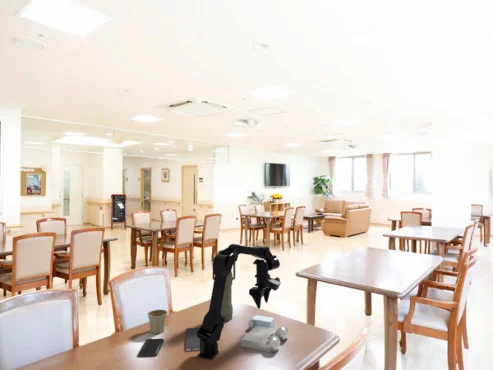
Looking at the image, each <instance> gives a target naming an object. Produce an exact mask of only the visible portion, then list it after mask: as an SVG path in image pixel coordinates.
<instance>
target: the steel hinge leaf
mask: <svg viewBox="0 0 493 370" xmlns="http://www.w3.org/2000/svg"><path fill="white" fill-rule="evenodd" d="M289 333H290V332H289V328H288V327H287V326H285V325H280V326H279V327H278V328H274V329H272V328H267V327H261V326H255V327H254V328H253V329H250V331H248V332H247V333H246V334H245V335H244V336H243V337H242V338H241V340H240V343H241V345H240V346H241V347H243V348H248V349H252V350H257V351H262V352H268V353H275V352H276V351H277V350H278V349H279V347H280V346H281V342H283V341H285V340H286V339H287V337H288V336H289Z"/></svg>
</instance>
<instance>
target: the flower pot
mask: <svg viewBox="0 0 493 370" xmlns="http://www.w3.org/2000/svg"><path fill="white" fill-rule="evenodd" d="M168 313H169V312H168V311H167V310H166V309H154V310H151V311H149V312H147V314H146V315H147V318H148V321H149V328H150V329H149V330H150V333H151V334H162V333H164V331H165V327H166V326H165V325H166V319H167V316H168Z"/></svg>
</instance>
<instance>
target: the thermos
mask: <svg viewBox="0 0 493 370" xmlns="http://www.w3.org/2000/svg"><path fill="white" fill-rule="evenodd" d="M222 250H223V249H221V250H219V251H217V254H216V255H218V254H219V253H220V252H221V251H222ZM231 255H232V254H230V255H229V256H231ZM212 268H213V262H212ZM214 279H215V273H214V270H213V269H212V280H213V281H214ZM234 280H236V262H235V263H234V264H233V266H232V270H231V272H230V273H229V275H228V276H227V278H226V284H225V290H224V296H223V301H222V307H221V315H222V317H225V321H224V323H226V322H229V321H232V320H233V313H234V312H233V311H234V309H233V304H232V302H233V301H232V297H233V295H232V294H233V292H232V290H233V289H232V286H233V281H234Z"/></svg>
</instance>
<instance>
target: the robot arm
mask: <svg viewBox="0 0 493 370" xmlns="http://www.w3.org/2000/svg"><path fill="white" fill-rule="evenodd" d="M221 250H222V251H221V252H220V253H219V254H218V253H217V254H218V255H217V254H216V255H215V256H214V257H213V260H212V263H213V267H212V271H213V270H214V273H215V279H214V280H213V285H212V292H211V297H210V302H209V307H208V311H207V312H206V314H205V315H204V317H203V320H202V323H201V325H200V328H199V327H198V328H199V330H198V332H197V333H196V334H197V337H198V338H200V350H199V353H198V354H197V356H198V357H201V358H205V359H209V360H212V359H213V358H215V357H216V356H217V355H218V354H219V353H220V351H219V343H218V342H219V341H220V339H221V335H222V333H223V332H222V331H223V329H224V327H225V326H224V325H225V322H224V321H225V317H222V315H221V307H222V301H223V296H224V290H225V284H226V278H227V276H228V275H229V273H230V272H231V271H233V264H234V263H235V264H236V262H237V261H238V259H239V258H238V257H239V255H240V254H241V255H248V256H252V257H255V260H254V261H253V262H252V264H253V265H255V268H256V270H255V272H256V273H255V274H254V278H256V282H255V284H254V286H252V287H251V288H250V289H249V290H248V295H249V296H250V297H251V298H252V299H253V301H254V303H255V306H256V307H257V309H259V310H260V309H261V305H262V299H263V300H264V302H265V303H268V302H269V297H270V294H271V291H275V292H276V291H278V290H279V288H280V285H281V280H280V277H278V276H276V277H275V278H272V277H271V274H270V273H269V271H273V270H276V269H278V268H280V266H281V262H280V260H279V259H278V258H277V255H276V254H275V255H273V253H272V251H271V250H270V247H268V246H263V245H253V246H248V245H247V246H246V245H240V244H239V243H237V244H236V243H230V244H229V245H228V246H227V247H226V248H225V249H221ZM230 254H231V256H229V255H230ZM208 333H209V334H208ZM210 334H211V335H210Z"/></svg>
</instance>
